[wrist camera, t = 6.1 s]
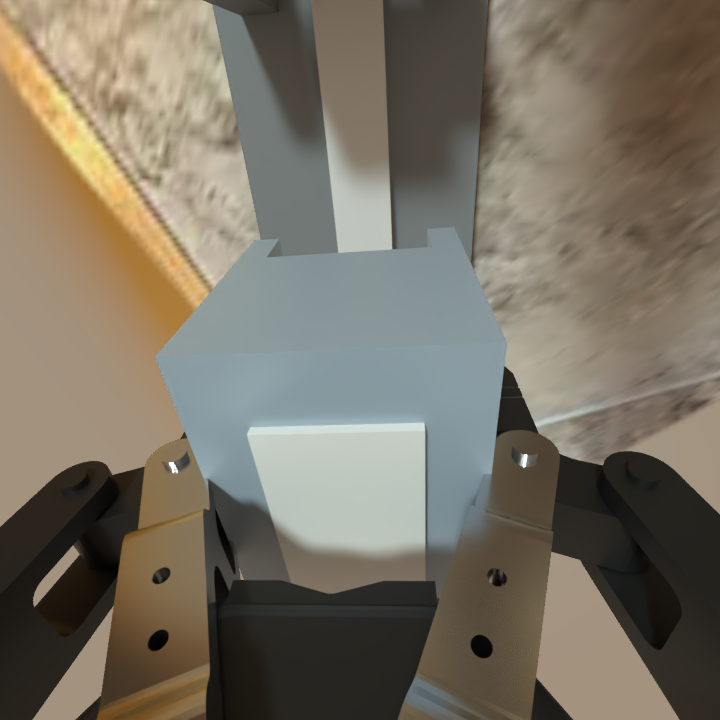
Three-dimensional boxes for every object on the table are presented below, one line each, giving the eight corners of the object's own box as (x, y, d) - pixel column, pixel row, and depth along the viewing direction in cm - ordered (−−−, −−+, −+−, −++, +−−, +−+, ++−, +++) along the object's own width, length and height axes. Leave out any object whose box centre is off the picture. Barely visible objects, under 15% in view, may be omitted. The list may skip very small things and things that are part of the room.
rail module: (254, 240, 12) (149, 363, 7) (454, 226, 11) (510, 349, 6) (300, 451, 16) (258, 628, 11) (446, 448, 16) (475, 632, 10)
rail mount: (200, -104, 15) (109, -192, 10) (490, -143, 14) (547, -260, 9) (298, 392, 27) (278, 463, 22) (459, 387, 26) (476, 460, 21)
